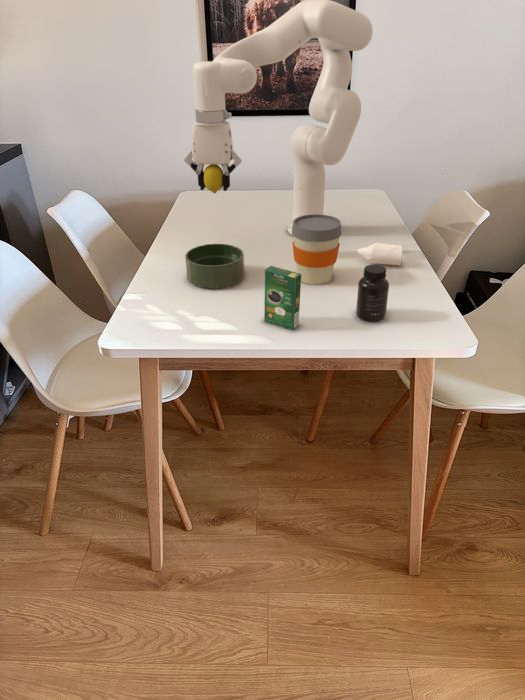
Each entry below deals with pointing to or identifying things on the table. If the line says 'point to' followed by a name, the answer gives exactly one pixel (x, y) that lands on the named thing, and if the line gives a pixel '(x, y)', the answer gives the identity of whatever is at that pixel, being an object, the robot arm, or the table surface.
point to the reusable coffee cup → (316, 246)
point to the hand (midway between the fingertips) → (214, 188)
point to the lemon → (213, 178)
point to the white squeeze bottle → (382, 254)
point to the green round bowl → (215, 265)
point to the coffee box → (282, 297)
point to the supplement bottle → (372, 294)
